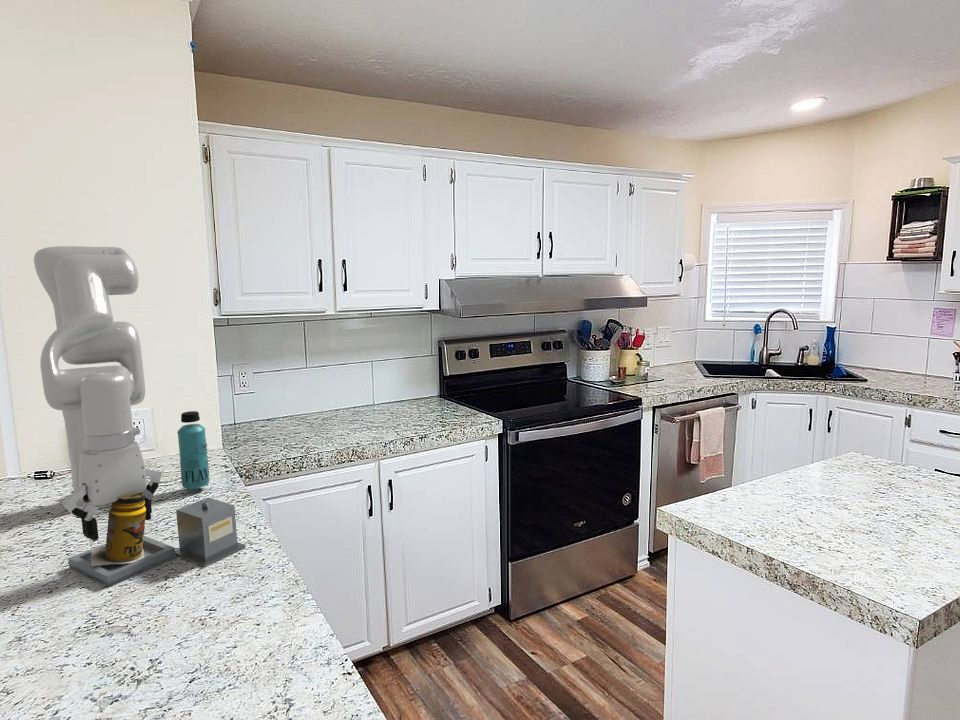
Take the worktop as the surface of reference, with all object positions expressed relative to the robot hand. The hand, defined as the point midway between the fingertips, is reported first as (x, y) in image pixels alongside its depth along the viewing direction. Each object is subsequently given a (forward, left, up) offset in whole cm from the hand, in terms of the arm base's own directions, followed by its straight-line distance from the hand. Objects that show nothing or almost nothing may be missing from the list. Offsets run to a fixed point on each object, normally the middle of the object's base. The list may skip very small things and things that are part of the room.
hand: (119, 528), depth 111 cm
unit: (+10, +11, -7) cm, 16 cm away
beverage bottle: (-22, +30, -7) cm, 38 cm away
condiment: (0, -1, -6) cm, 6 cm away
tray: (0, 0, -7) cm, 7 cm away
